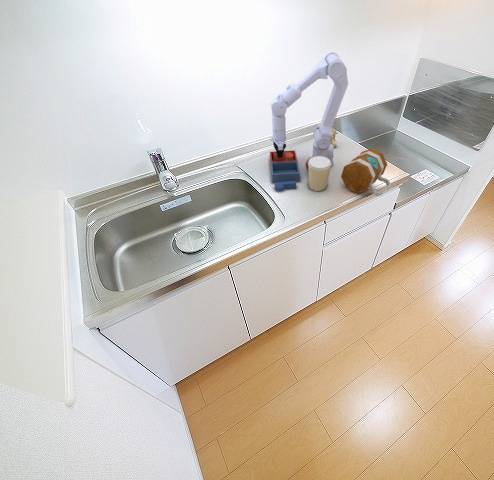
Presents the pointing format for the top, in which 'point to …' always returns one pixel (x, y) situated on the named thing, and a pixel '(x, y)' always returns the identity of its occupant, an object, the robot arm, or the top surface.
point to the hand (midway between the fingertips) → (279, 156)
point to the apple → (307, 164)
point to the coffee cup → (318, 172)
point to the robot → (333, 138)
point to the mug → (365, 172)
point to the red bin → (282, 160)
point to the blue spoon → (285, 185)
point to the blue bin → (285, 172)
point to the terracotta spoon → (284, 156)
